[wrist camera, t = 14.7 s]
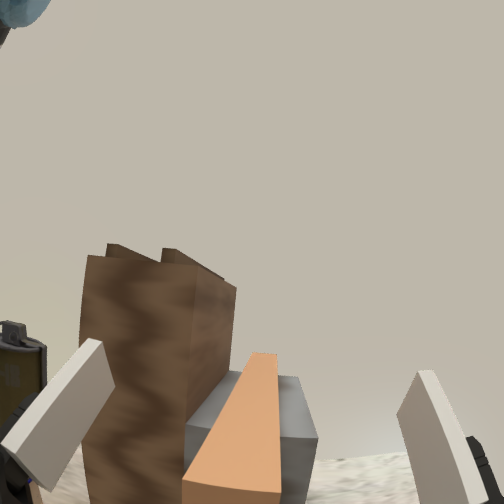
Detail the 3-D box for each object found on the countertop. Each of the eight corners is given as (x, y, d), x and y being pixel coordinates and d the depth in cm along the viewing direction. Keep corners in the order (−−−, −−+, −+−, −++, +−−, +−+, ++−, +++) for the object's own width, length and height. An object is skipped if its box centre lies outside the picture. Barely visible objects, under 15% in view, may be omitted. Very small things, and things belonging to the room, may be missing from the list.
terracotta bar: (182, 537, 6) (182, 479, 7) (250, 375, 36) (252, 352, 36) (269, 549, 6) (281, 492, 7) (274, 377, 36) (276, 354, 36)
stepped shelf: (100, 545, 15) (90, 241, 21) (161, 472, 35) (172, 273, 40) (280, 585, 14) (337, 261, 19) (280, 491, 33) (306, 285, 39)
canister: (-15, 441, 24) (-26, 317, 27) (7, 420, 33) (3, 314, 37) (42, 461, 27) (33, 334, 30) (58, 435, 37) (55, 327, 40)
